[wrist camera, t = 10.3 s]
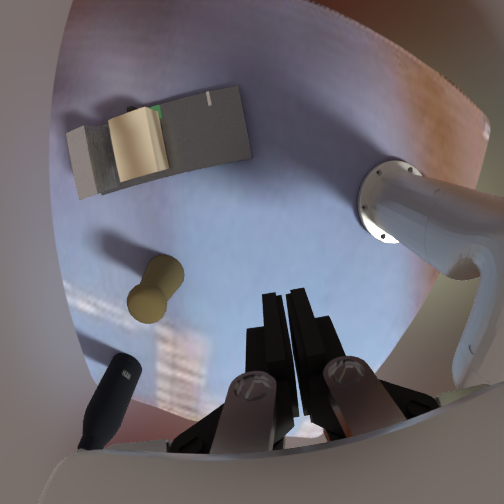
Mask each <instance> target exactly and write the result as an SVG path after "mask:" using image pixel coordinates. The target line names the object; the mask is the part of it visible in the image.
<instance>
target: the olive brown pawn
mask: <svg viewBox="0 0 504 504" xmlns="http://www.w3.org/2000/svg"><path fill="white" fill-rule="evenodd" d="M183 281H184V269H183V267H182V265H181V264H180V263H179V261H178V260H177V259H175V258H173V257H172V256H168V255H158V256H156V257H154V258H153V259H152V260H151V261H150V262H149V264H148V266H147V269H146V271H145V273H144V275H143V278H142V280H141V282H140V284H139V285H136V286H135V287H134V288H133V289H132V290H131V291H130V292H129V295H128V297H127V307H128V310H129V312H130V314H131V315H132V316H133V317H134V318H135V319H136V320H137V321H139V322H142V323H145V324H151V323H155V322H157V321H159V320H160V319H161V318H162V317H163V316H164V314H165V312H166V309H167V301H168V300H169V299H170V298H171V296H172V295H173V294H174V293H175V292H176V290H177V289H178V288H179V287H180V286H181V284H182V282H183Z"/></svg>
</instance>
